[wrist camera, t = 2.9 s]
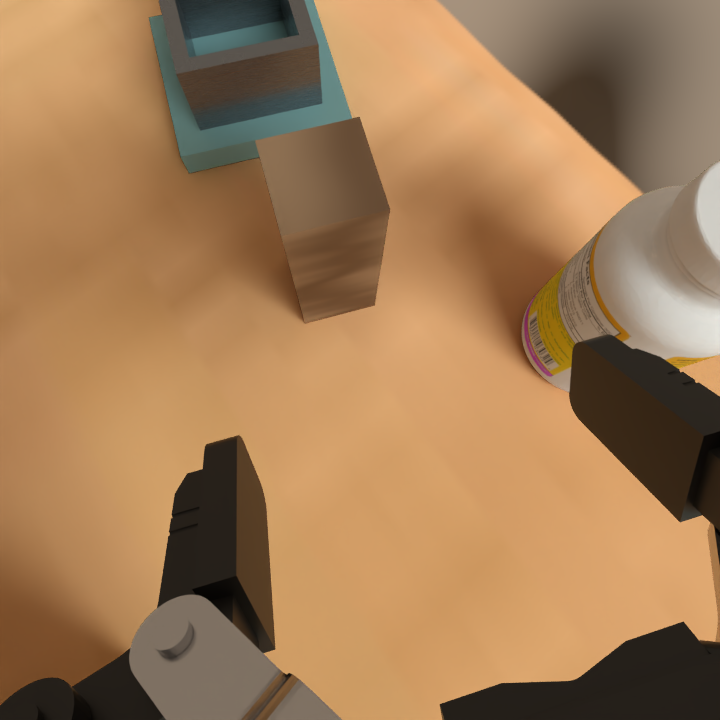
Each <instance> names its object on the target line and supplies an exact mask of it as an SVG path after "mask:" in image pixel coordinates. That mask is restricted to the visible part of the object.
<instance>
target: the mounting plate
mask: <svg viewBox="0 0 720 720" xmlns="http://www.w3.org/2000/svg"><path fill="white" fill-rule="evenodd" d="M304 1H305V4H306V7H307V10H308V13H309V16H310V19H311V22H312V25H313V29H314V32H315V35H316V38H317V41H318V44H319V59H320V74H321V89H322V104H319V105H314V106H309V107H305V108H300V109H296V110H291V111H287V112H282V113H278V114H273V115H269V116H264V117H260V118H255V119H251V120H246V121H242V122H237V123H233V124H228V125H224V126H219V127H215V128H210V129H206V130H201V131H200V129H199V127H198V124H197V122H196V119H195V117H194V115H193V112H192V110H191V108H190V105H189V103H188V101H187V98H186V96H185V94H184V91H183V89H182V87H181V84H180V82H179V80H178V77H177V75H176V71H175V67H174V63H173V59H172V54H171V50H170V46H169V42H168V38H167V33H166V29H165V25H164V21H163V16H162V15H159V16H154V17H149V21H150V25H151V30H152V34H153V38H154V43H155V47H156V51H157V56H158V60H159V65H160V69H161V73H162V78H163V82H164V86H165V91H166V95H167V100H168V104H169V108H170V113H171V117H172V121H173V126H174V130H175V134H176V139H177V143H178V148H179V152H180V156H181V159H182V161H183V162H184V164H185V166H186V168H187V170H188V172H189V173H192V172H197V171H201V170H205V169H210V168H214V167H219V166H223V165H227V164H232V163H236V162H240V161H245V160H249V159H253V158H258V157H259V153H258V150H257V146H256V142H255V140H260V139H264V138H268V137H273V136H277V135H282V134H286V133H291V132H295V131H299V130H304V129H308V128H313V127H317V126H322V125H326V124H331V123H335V122H339V121H344V120H348V119H352V116H351V113H350V110H349V107H348V104H347V101H346V98H345V95H344V92H343V89H342V86H341V83H340V80H339V77H338V74H337V71H336V68H335V64H334V61H333V58H332V55H331V52H330V49H329V46H328V43H327V40H326V37H325V34H324V31H323V28H322V25H321V22H320V19H319V16H318V12H317V9H316V6H315V3H314V0H304ZM286 37H288V36H287V32H286V29H285V26H284V23H283V20H282V21H277V22H272V23H267V24H263V25H258V26H253V27H248V28H243V29H238V30H233V31H228V32H224V33H219V34H214V35H209V36H204V37H199V38H194V39H192V41H193V45H194V49H195V53H196V56H199V55H204V54H209V53H214V52H219V51H224V50H228V49H233V48H238V47H243V46H248V45H252V44H257V43H262V42H267V41H272V40H276V39H281V38H286Z"/></svg>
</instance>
